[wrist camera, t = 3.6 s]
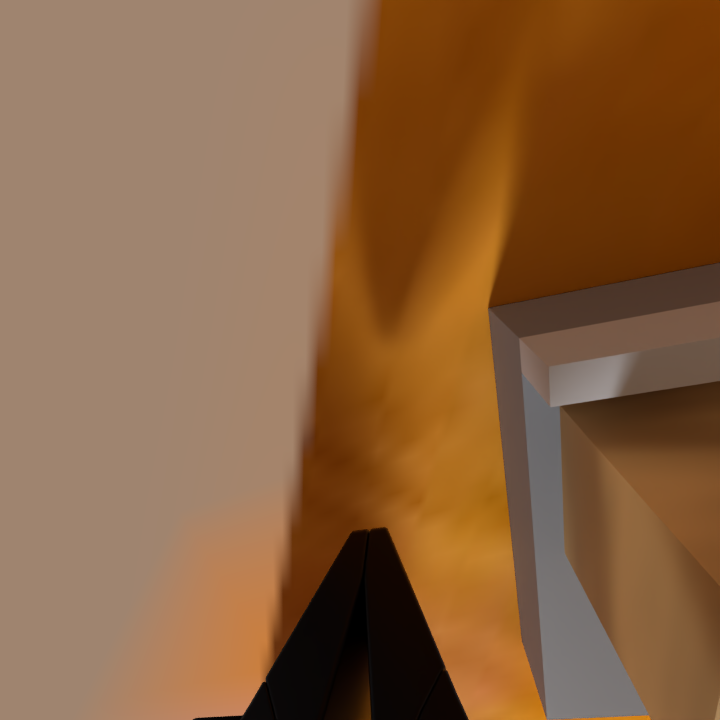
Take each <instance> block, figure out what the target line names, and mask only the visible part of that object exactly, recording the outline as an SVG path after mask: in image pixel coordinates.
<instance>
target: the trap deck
mask: <svg viewBox="0 0 720 720" xmlns="http://www.w3.org/2000/svg"><path fill="white" fill-rule="evenodd" d="M488 311H489V320H490V330H491V340H492V350H493V360H494V370H495V379H496V389H497V399H498V409H499V419H500V429H501V439H502V448H503V458H504V468H505V478H506V488H507V498H508V507H509V517H510V527H511V537H512V547H513V557H514V567H515V576H516V586H517V596H518V606H519V616H520V626H521V635H522V642H523V645H524V649H525V652H526V655H527V658H528V661H529V664H530V668H531V671H532V674H533V677H534V680H535V683H536V687H537V690H538V693H539V696H540V699H541V702H542V705H543V709H544V712H545V715H546V718H547V720H550V719H572V718H595V717H618V716H640V715H649V714H648V712H647V710H646V708H645V706H644V704H643V702H642V701H641V699H640V697H639V695H638V693H637V691H636V689H635V687H634V685H633V683H632V681H631V679H630V677H629V676H628V674H627V672H626V670H625V668H624V666H623V664H622V662H621V660H620V658H619V656H618V654H617V652H616V651H615V649H614V647H613V645H612V643H611V641H610V639H609V637H608V635H607V633H606V631H605V629H604V628H603V626H602V624H601V622H600V620H599V618H598V616H597V614H596V612H595V610H594V608H593V606H592V604H591V603H590V601H589V599H588V597H587V595H586V593H585V591H584V589H583V587H582V585H581V583H580V581H579V579H578V578H577V576H576V574H575V572H574V570H573V568H572V566H571V564H570V562H569V560H568V558H567V556H566V555H565V550H564V521H563V491H562V461H561V431H560V406H562V405H569V404H575V403H582V402H588V401H594V400H601V399H607V398H614V397H620V396H626V395H633V394H639V393H646V392H652V391H658V390H665V389H671V388H678V387H684V386H690V385H697V384H703V383H710V382H716V381H720V263H715V264H710V265H705V266H700V267H695V268H690V269H685V270H680V271H675V272H669V273H664V274H659V275H654V276H649V277H644V278H639V279H634V280H629V281H624V282H619V283H613V284H608V285H603V286H598V287H593V288H588V289H583V290H578V291H573V292H568V293H563V294H557V295H552V296H547V297H542V298H537V299H532V300H527V301H522V302H517V303H512V304H507V305H501V306H496V307H491V308H488Z"/></svg>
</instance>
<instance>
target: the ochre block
mask: <svg viewBox="0 0 720 720" xmlns="http://www.w3.org/2000/svg"><path fill="white" fill-rule="evenodd" d="M560 431H561V461H562V491H563V521H564V550H565V555H566V556H567V558H568V560H569V562H570V564H571V566H572V568H573V570H574V572H575V574H576V576H577V578H578V579H579V581H580V583H581V585H582V587H583V589H584V591H585V593H586V595H587V597H588V599H589V601H590V603H591V604H592V606H593V608H594V610H595V612H596V614H597V616H598V618H599V620H600V622H601V624H602V626H603V628H604V629H605V631H606V633H607V635H608V637H609V639H610V641H611V643H612V645H613V647H614V649H615V651H616V652H617V654H618V656H619V658H620V660H621V662H622V664H623V666H624V668H625V670H626V672H627V674H628V676H629V677H630V679H631V681H632V683H633V685H634V687H635V689H636V691H637V693H638V695H639V697H640V699H641V701H642V702H643V704H644V706H645V708H646V710H647V712H648V714H649V716H650V718H651V720H720V381H716V382H710V383H703V384H697V385H690V386H684V387H678V388H671V389H665V390H658V391H652V392H646V393H639V394H633V395H626V396H620V397H614V398H607V399H601V400H594V401H588V402H582V403H575V404H569V405H562V406H560Z"/></svg>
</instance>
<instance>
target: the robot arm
mask: <svg viewBox="0 0 720 720" xmlns="http://www.w3.org/2000/svg"><path fill="white" fill-rule="evenodd" d="M193 720H469V719H468V717H467V715H466V713H465V711H464V708H463V706H462V704H461V702H460V700H459V697H458V695H457V693H456V691H455V688H454V686H453V683H452V681H451V679H450V676H449V674H448V672H447V671H446V668H445V665H444V662H443V660H442V658H441V655H440V653H439V650H438V648H437V646H436V643H435V641H434V638H433V636H432V634H431V631H430V629H429V627H428V624H427V622H426V619H425V617H424V615H423V612H422V610H421V607H420V605H419V603H418V600H417V598H416V595H415V593H414V591H413V588H412V586H411V584H410V581H409V579H408V576H407V574H406V572H405V569H404V567H403V564H402V562H401V560H400V557H399V555H398V552H397V550H396V548H395V545H394V543H393V541H392V538H391V536H390V533H389V531H388V529H387V528H386V527H382V528H374V529H371V530H370V531H369V530H367V529H366V530H357V531H353V532H352V533H351V534H350V536H349V537H348V539H347V541H346V542H345V544H344V546H343V547H342V549H341V551H340V553H339V554H338V556H337V558H336V559H335V561H334V563H333V564H332V566H331V568H330V569H329V571H328V573H327V575H326V576H325V578H324V580H323V581H322V583H321V585H320V586H319V588H318V590H317V592H316V593H315V595H314V597H313V598H312V600H311V602H310V603H309V605H308V607H307V609H306V610H305V612H304V614H303V615H302V617H301V619H300V620H299V622H298V624H297V626H296V627H295V629H294V631H293V632H292V634H291V636H290V637H289V639H288V641H287V642H286V644H285V646H284V648H283V649H282V651H281V653H280V654H279V656H278V658H277V659H276V661H275V663H274V665H273V666H272V668H271V670H270V671H269V673H268V675H267V676H266V682H263V683H262V685H261V686H260V688H259V690H258V691H257V693H256V695H255V697H254V698H253V700H252V702H251V703H250V705H249V707H248V708H247V710H246V712H245V713H244V715H243V716H225V717H208V718H195V719H193Z"/></svg>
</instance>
